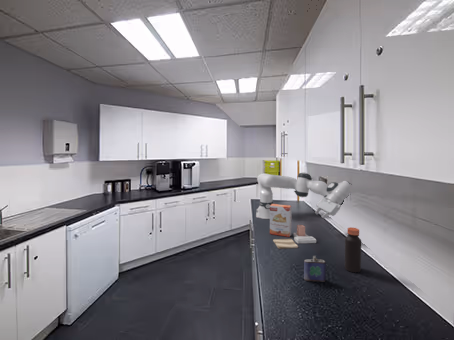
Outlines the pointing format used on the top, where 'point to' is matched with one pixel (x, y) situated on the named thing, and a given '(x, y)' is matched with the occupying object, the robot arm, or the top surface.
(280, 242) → the board
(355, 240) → the bottle
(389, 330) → the top surface
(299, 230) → the block
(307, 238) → the dispenser
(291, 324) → the top surface
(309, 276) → the flask
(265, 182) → the robot arm
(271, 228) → the cracker box
